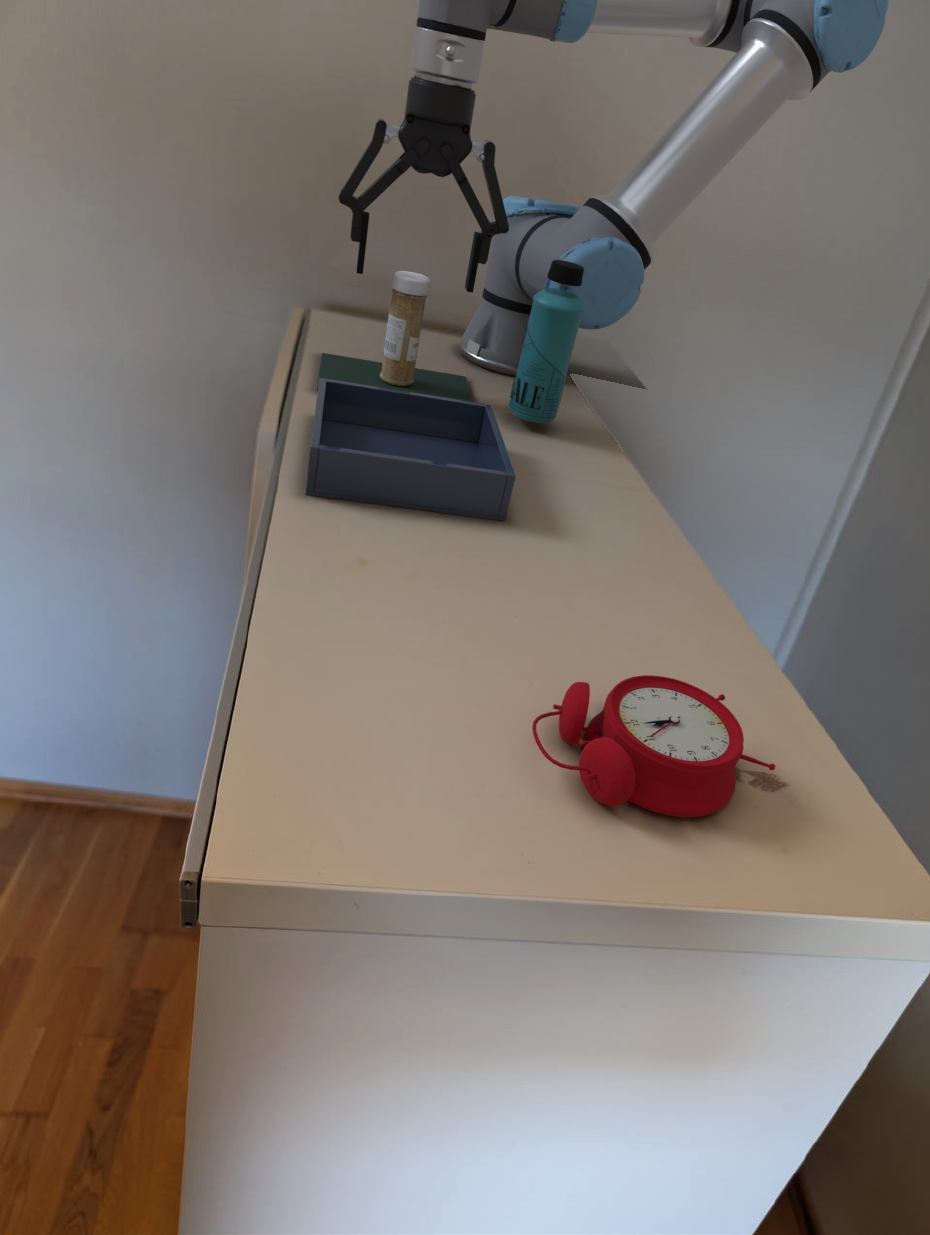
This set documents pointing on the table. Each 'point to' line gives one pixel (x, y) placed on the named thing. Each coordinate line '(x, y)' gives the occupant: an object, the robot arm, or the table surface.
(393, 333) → the sprinkles bottle
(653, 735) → the alarm clock
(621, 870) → the table surface
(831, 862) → the table surface
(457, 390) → the mat
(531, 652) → the table surface
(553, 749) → the table surface
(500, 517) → the open box
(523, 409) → the beverage bottle
